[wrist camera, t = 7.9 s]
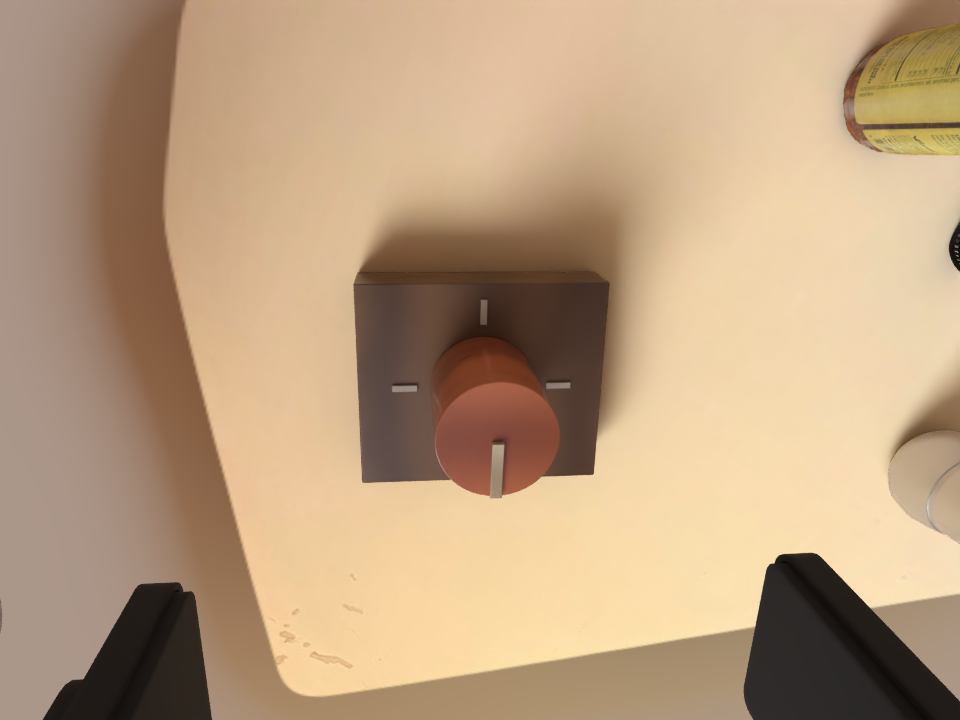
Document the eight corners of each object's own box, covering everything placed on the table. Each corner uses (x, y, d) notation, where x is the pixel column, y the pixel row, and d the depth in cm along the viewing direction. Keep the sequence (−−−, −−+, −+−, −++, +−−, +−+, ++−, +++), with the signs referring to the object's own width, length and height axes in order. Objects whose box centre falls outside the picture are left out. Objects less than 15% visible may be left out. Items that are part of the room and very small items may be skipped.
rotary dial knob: (430, 336, 37) (435, 384, 31) (537, 336, 38) (566, 383, 31) (428, 434, 39) (433, 500, 32) (530, 433, 40) (556, 498, 33)
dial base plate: (365, 459, 43) (361, 484, 40) (357, 272, 39) (353, 284, 36) (581, 452, 44) (594, 476, 41) (595, 271, 40) (610, 283, 37)
